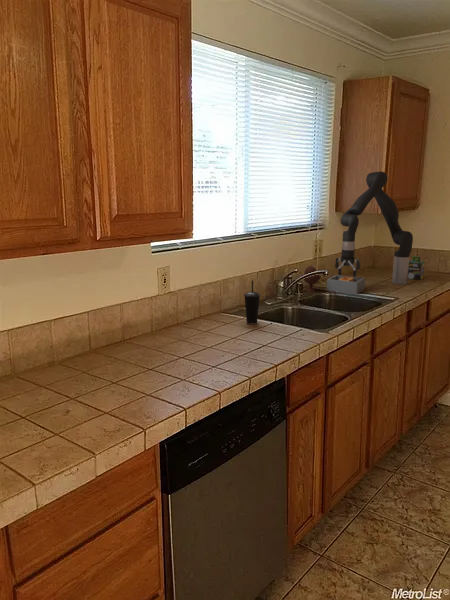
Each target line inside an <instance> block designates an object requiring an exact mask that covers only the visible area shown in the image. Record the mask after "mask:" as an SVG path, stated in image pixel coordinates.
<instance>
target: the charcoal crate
mask: <svg viewBox="0 0 450 600" xmlns="http://www.w3.org/2000/svg"><path fill="white" fill-rule="evenodd" d="M343 277H352V278H354V282H351V281H342V280H339V279H341V278H343ZM365 286H366V277H359V276H355V277H353V275H342V274H341V275H339V274H335V275H333V276H331V277H329V278H327V279H326V291H327V290H329V291H328V292H333V291H338V292H337V293H341V292H343V294H348V295H349V294H350V295H358V294H359V293H361V292H363V291H364V290H366V289H365V288H366V287H365ZM362 290H363V291H362Z"/></svg>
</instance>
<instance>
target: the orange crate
mask: <svg viewBox="0 0 450 600" xmlns="http://www.w3.org/2000/svg"><path fill="white" fill-rule="evenodd" d="M352 277H353V276H352ZM352 277H343V278H341V279H339V280H342V281H351V282H354V278H352Z"/></svg>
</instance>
